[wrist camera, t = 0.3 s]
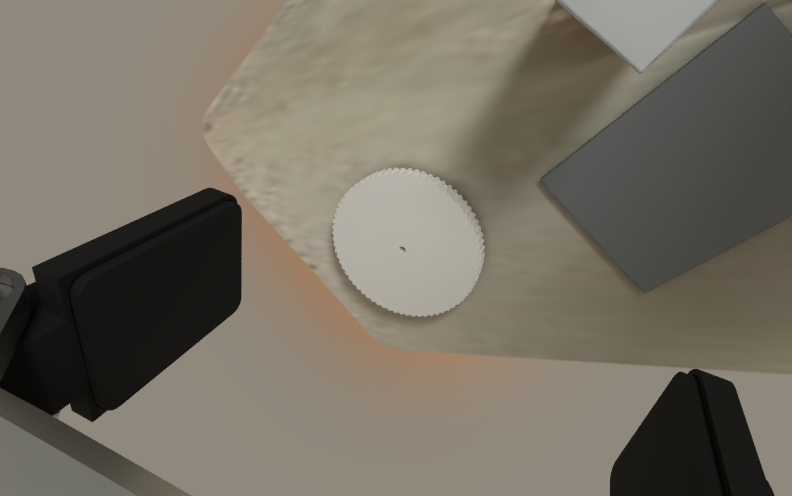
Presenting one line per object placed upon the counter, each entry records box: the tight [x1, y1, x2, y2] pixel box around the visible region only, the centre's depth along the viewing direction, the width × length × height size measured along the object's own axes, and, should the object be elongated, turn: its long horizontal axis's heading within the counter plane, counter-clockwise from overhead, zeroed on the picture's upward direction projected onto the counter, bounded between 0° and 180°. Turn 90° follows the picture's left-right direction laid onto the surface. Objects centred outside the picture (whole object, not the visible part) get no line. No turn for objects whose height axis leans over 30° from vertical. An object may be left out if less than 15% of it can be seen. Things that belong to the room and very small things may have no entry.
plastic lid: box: [332, 168, 485, 317], centre depth 42 cm, size 14×14×2 cm
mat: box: [540, 4, 792, 293], centre depth 31 cm, size 16×12×1 cm
